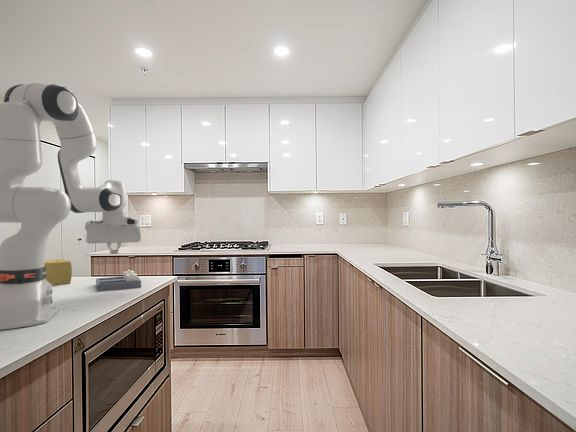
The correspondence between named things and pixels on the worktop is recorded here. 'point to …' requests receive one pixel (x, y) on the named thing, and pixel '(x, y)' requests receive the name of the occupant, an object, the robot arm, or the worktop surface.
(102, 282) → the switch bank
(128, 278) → the tab near
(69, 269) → the cheese
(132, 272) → the tab far
